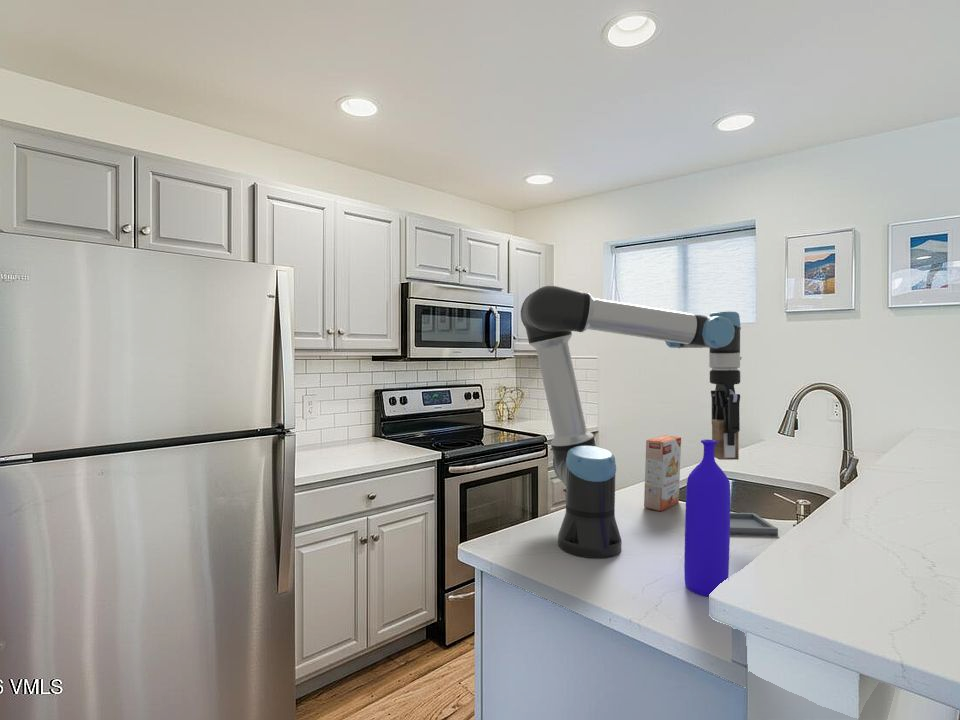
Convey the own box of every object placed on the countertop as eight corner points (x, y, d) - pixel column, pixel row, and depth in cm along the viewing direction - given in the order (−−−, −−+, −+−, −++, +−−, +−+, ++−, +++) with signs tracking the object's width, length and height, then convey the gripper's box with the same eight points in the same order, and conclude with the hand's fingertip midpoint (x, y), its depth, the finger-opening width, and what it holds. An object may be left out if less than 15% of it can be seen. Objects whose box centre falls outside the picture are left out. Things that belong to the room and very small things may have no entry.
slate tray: (726, 534, 138) (727, 527, 138) (707, 518, 151) (708, 511, 151) (777, 535, 137) (778, 528, 137) (754, 519, 150) (754, 513, 150)
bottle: (682, 577, 112) (685, 436, 111) (724, 582, 109) (728, 438, 108) (685, 594, 104) (688, 442, 103) (731, 601, 101) (735, 445, 100)
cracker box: (662, 512, 156) (664, 442, 155) (643, 508, 160) (644, 439, 159) (680, 502, 166) (682, 436, 166) (662, 498, 170) (663, 434, 170)
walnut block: (719, 459, 140) (719, 422, 140) (712, 455, 145) (712, 419, 145) (738, 459, 140) (738, 422, 140) (730, 455, 145) (730, 419, 145)
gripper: (754, 370, 133) (754, 462, 133) (725, 367, 151) (725, 448, 152) (724, 370, 133) (724, 462, 134) (698, 367, 151) (698, 448, 152)
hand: (725, 454), depth 143 cm, fingers closed on walnut block, 5 cm apart
